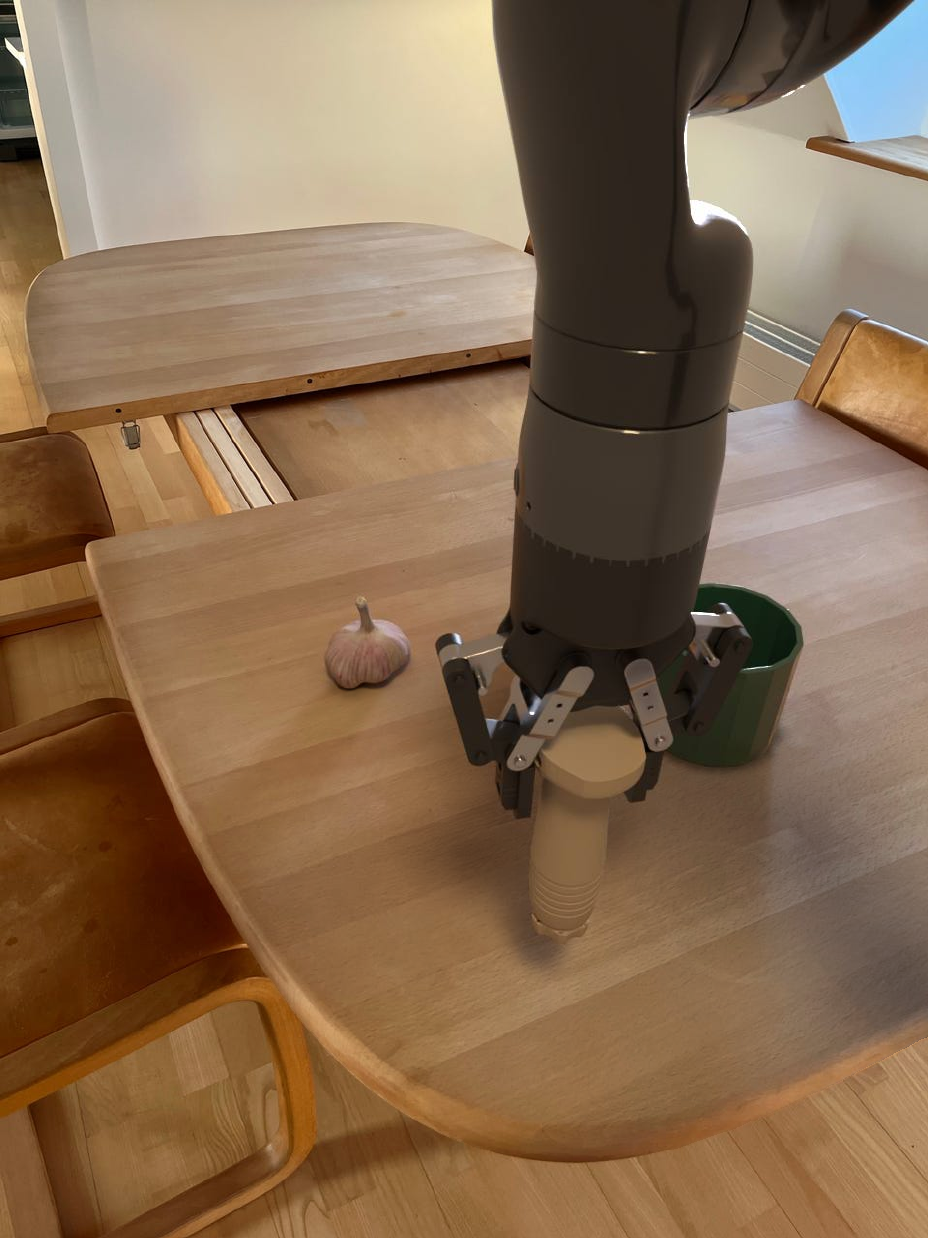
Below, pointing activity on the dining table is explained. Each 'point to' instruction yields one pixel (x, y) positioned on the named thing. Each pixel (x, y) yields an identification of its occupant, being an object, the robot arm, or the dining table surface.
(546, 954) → the dining table surface
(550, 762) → the handle
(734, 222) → the robot arm
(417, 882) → the dining table surface
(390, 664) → the garlic bulb
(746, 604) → the cup
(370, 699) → the dining table surface
